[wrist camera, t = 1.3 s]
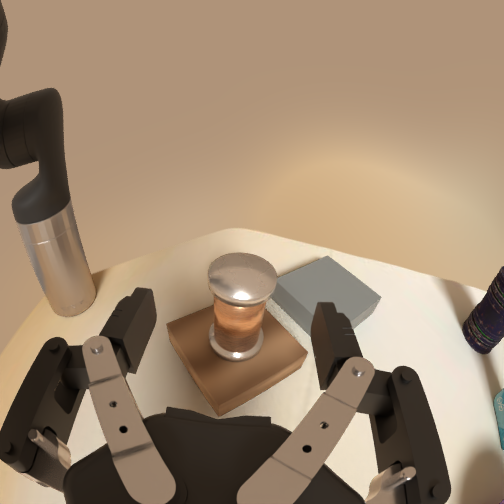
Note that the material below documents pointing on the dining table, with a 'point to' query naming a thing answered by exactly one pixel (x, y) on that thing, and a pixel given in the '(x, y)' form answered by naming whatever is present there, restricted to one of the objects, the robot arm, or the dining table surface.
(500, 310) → the dark blue cylinder
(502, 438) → the data package
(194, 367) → the walnut stand
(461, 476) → the dining table surface
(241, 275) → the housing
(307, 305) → the slate stand
